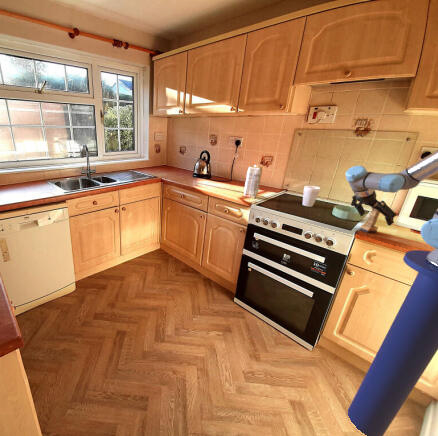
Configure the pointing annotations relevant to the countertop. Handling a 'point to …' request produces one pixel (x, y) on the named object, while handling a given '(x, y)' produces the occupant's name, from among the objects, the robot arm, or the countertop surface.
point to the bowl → (347, 213)
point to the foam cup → (310, 195)
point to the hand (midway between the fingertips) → (376, 219)
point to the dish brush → (371, 222)
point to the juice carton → (252, 181)
